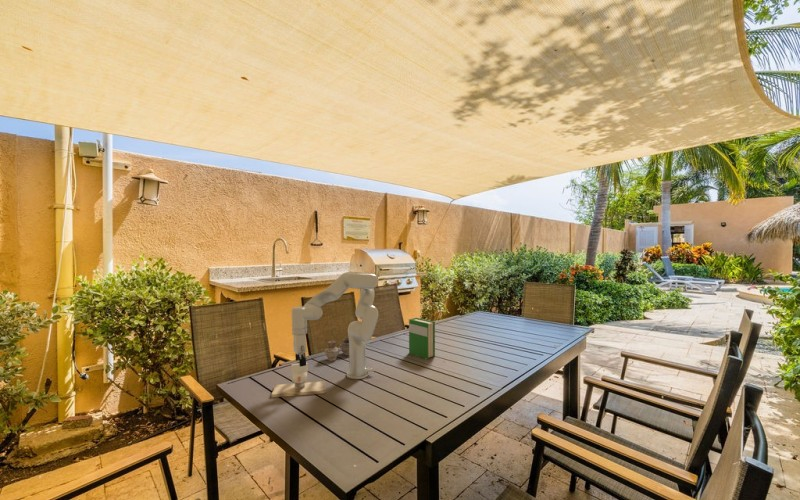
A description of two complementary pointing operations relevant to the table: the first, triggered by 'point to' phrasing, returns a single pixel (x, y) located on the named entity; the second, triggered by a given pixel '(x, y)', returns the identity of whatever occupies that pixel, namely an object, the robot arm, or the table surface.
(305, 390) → the post base
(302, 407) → the table surface
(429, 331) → the hardback book
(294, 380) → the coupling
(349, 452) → the table surface
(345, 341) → the pottery
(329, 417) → the table surface
